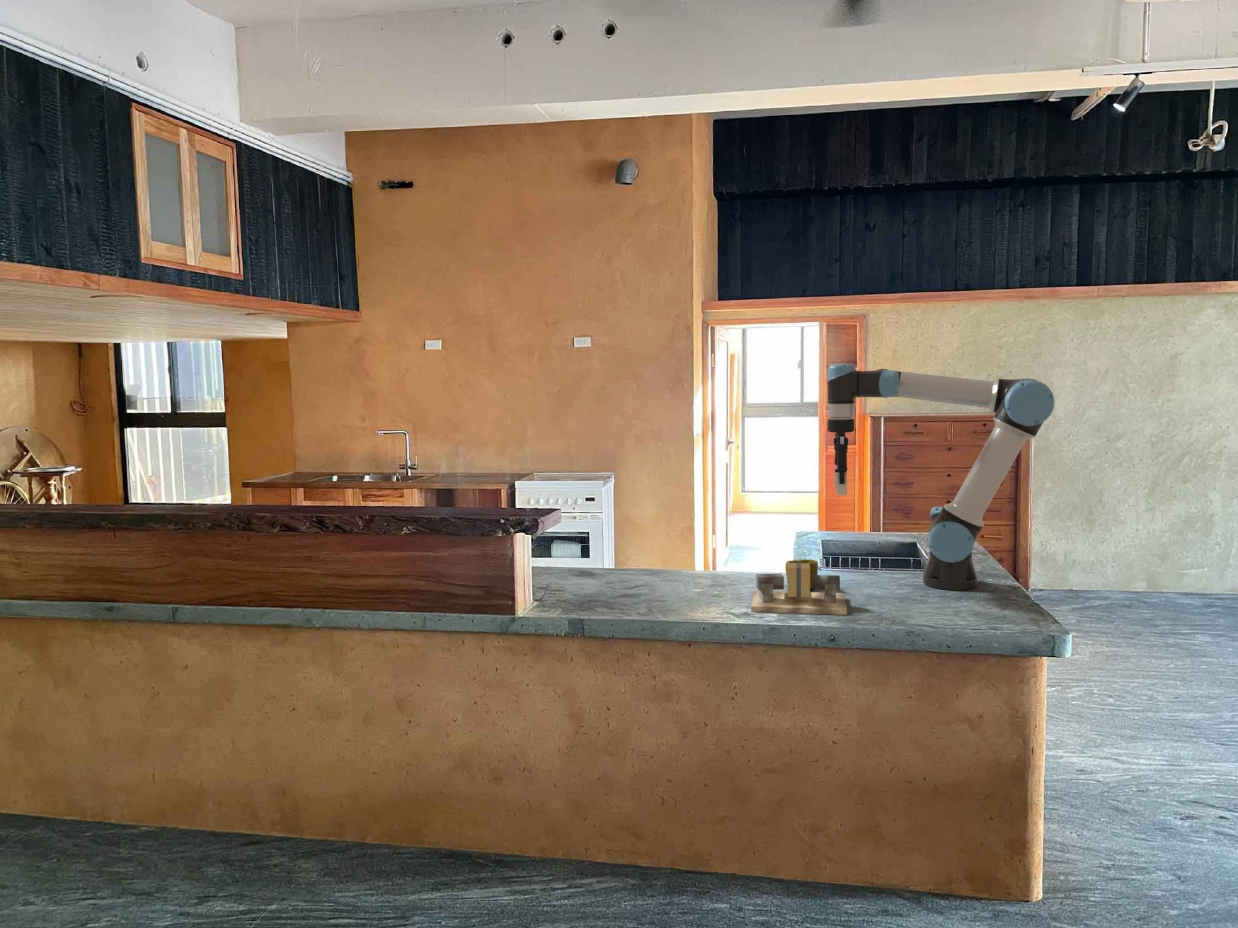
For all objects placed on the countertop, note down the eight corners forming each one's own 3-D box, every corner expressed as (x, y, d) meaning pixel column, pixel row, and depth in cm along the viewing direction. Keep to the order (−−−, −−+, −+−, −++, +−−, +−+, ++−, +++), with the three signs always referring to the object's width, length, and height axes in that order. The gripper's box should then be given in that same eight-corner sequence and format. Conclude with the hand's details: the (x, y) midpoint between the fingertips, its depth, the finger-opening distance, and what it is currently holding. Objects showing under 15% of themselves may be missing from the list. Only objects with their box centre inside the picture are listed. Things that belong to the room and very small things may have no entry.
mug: (824, 587, 257) (813, 553, 259) (790, 596, 259) (779, 563, 261) (826, 584, 269) (815, 552, 270) (793, 593, 271) (783, 562, 273)
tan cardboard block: (787, 596, 244) (787, 567, 243) (787, 591, 250) (787, 562, 249) (810, 597, 243) (810, 568, 242) (809, 591, 249) (809, 563, 248)
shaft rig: (843, 598, 252) (843, 568, 251) (846, 614, 236) (846, 583, 235) (753, 595, 257) (753, 566, 256) (751, 611, 241) (751, 580, 240)
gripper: (826, 415, 269) (825, 484, 272) (829, 421, 245) (828, 498, 248) (851, 414, 268) (851, 485, 271) (857, 421, 244) (856, 498, 246)
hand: (840, 491), depth 259 cm, fingers open, 13 cm apart
